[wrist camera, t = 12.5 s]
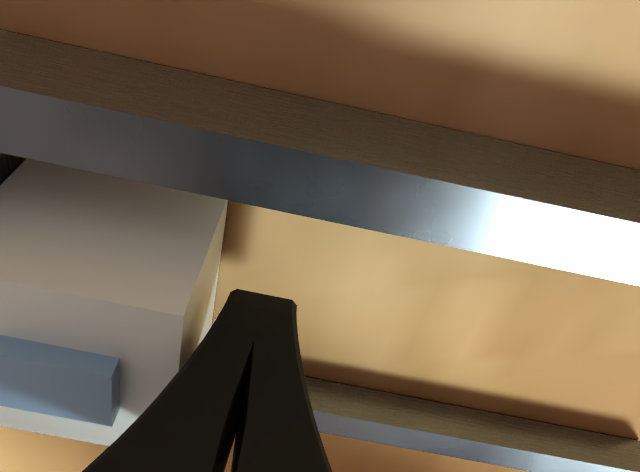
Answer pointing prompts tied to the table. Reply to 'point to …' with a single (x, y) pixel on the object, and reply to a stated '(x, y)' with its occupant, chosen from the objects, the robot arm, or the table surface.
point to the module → (99, 296)
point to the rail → (340, 205)
